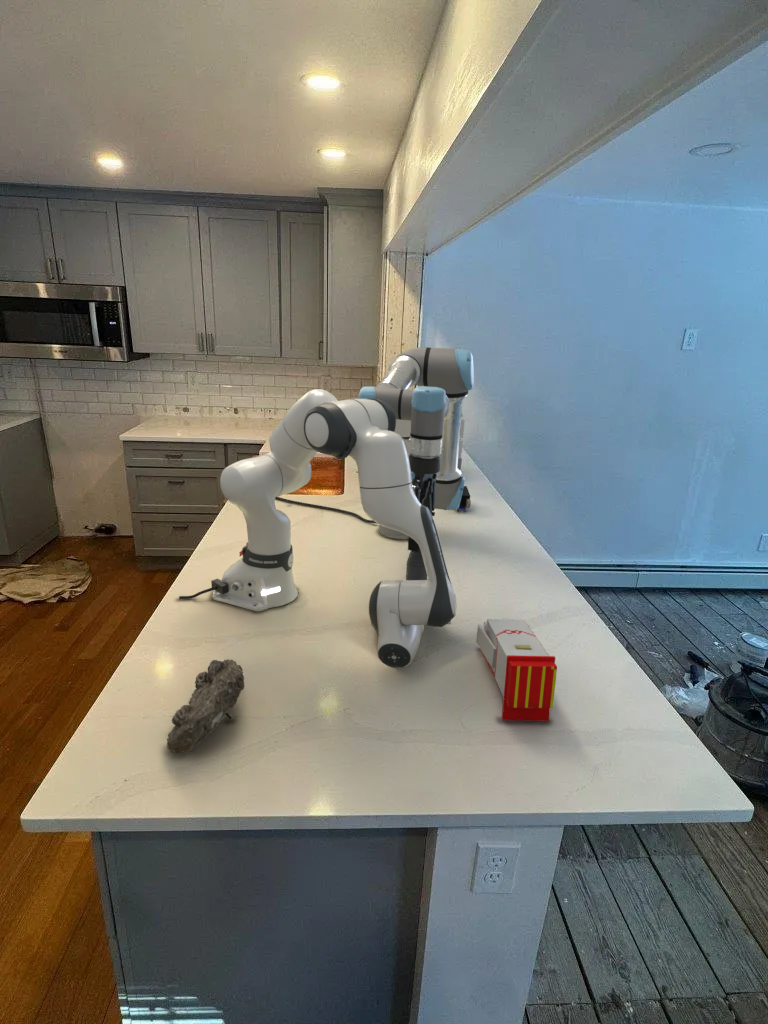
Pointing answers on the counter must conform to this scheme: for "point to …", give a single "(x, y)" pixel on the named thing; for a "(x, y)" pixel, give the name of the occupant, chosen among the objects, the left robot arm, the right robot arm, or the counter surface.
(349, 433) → the left robot arm
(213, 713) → the fossil
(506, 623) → the toy
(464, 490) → the figurine character
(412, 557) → the bottle
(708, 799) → the counter surface
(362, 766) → the counter surface
